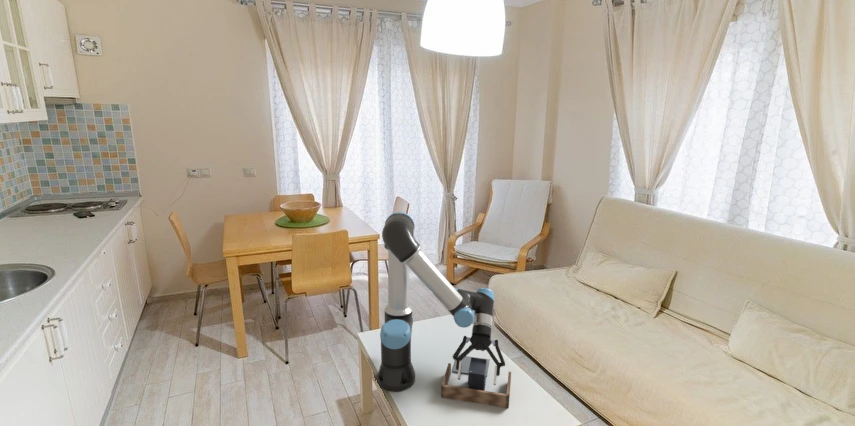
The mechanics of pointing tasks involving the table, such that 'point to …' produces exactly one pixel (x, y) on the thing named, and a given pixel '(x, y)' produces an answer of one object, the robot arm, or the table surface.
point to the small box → (477, 374)
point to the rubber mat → (468, 365)
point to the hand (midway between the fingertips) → (476, 381)
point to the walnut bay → (474, 393)
